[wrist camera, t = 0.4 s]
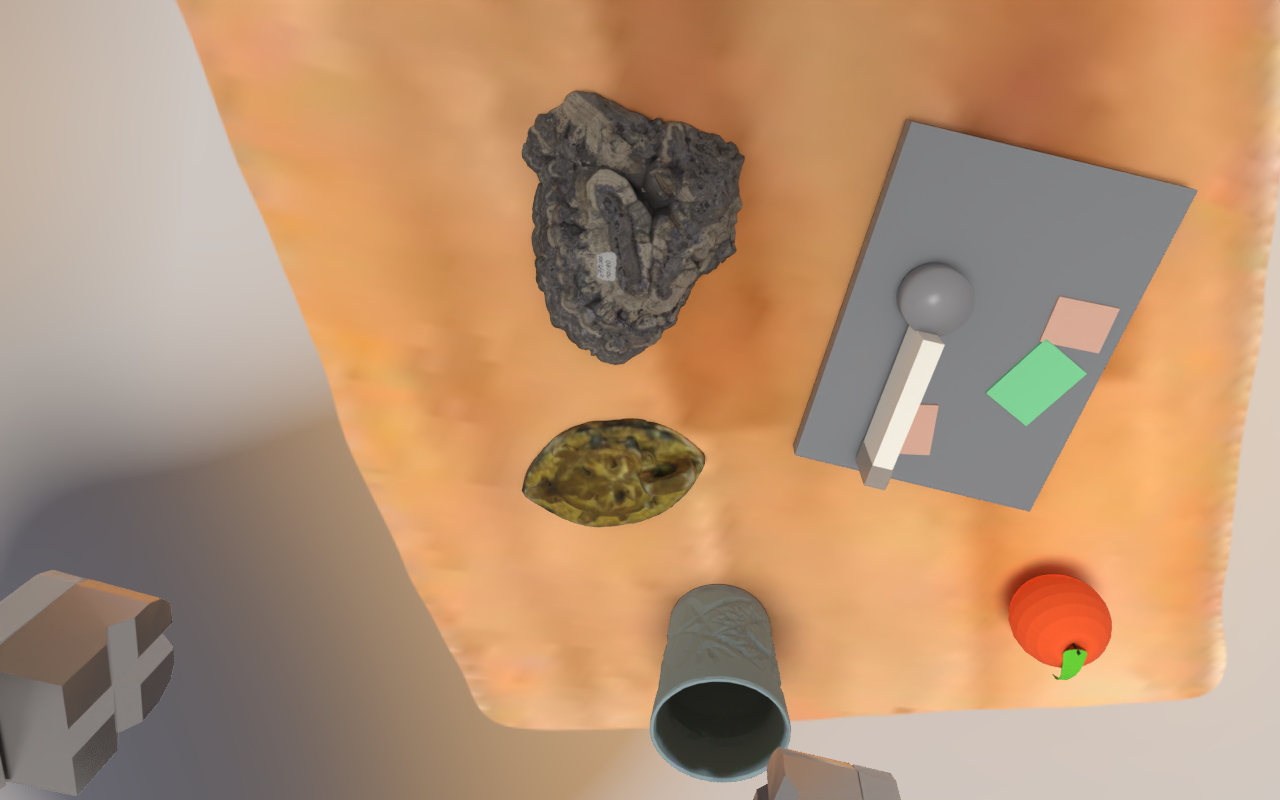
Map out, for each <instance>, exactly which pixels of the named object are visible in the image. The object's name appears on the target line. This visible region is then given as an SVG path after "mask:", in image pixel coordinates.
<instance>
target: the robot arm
mask: <svg viewBox="0 0 1280 800" xmlns="http://www.w3.org/2000/svg"><path fill="white" fill-rule="evenodd" d="M171 623H172V614H171V605H170V603H169V602H167V601H165V600H163V599H161V598H157V597H154V596H150V595H146V594H143V593H139V592H135V591H131V590H128V589H124V588H120V587H117V586H112V585H109V584H105V583H102V582H98V581H94V580H91V579H89V580H88V579H84V578H81V577H76V576H73V575H70V574H66V573H62V572H58V571H55V570H51V571H48V572H44V573H41V574H37V575H36V576H34V577H33V578H32V579H30V580H29V581H28V582H26V583H25V584H24V585H22V586H21V587H20V588H18V589H17V590H16V591H14V592H13V593H12V594H10V595H9V596H8V597H6V598H5V599H3V600H2V601H1V602H0V789H1V788H2V787H4V786H5V785H6V782H5V781H7V782H12V783H16V784H21V785H26V786H31V787H36V788H41V789H45V790H51V791H55V792H60V793H64V794H69V795H74V796H78V795H79V793H80V792H81V791H82V790H83V789H84V788H85V787H86V785H87V784H88V783H89V782H90V781H91V780H92V779H93V778H94V776H95V775H96V774H97V773H98V772H99V771H100V770H101V769H102V767H103V766H104V765H105V764H106V763H107V762H108V761H109V759H110V758H111V757H112V756H113V755H114V754H115V753H116V752H117V750H118V733H119V732H121V731H123V730H125V729H127V728H129V727H131V726H134V725H136V724H138V723H140V722H142V721H144V719H145V718H146V717H147V716H148V715H149V713H150V712H151V711H152V710H153V709H154V707H155V706H156V705H157V704H158V703H159V701H160V699H161V697H162V695H163V693H164V691H165V689H166V687H167V686H168V684H169V682H170V679H171V675H172V670H173V666H174V648H173V647H172V645H171V644H170V643H169V641H168V640H167V639H166V637H165V636H164V635H163V632H164V631H165V629H167V627H169V625H170V624H171ZM767 780H768V784H766V785H764V786H762V787H761V788H759V789H757V791H756V794H755V796H754V799H753V800H901V799H900V795H899V791H898V787H897V783H896V780H895V779H894V778H893V776H892V775H891V773H887V772H883V771H879V770H875V769H870V768H866V767H862V766H857V765H850V764H849V763H846V762H841V761H837V760H832V759H828V758H823V757H819V756H815V755H811V754H806V753H802V752H798V751H793V750H789V749H785V748H780V747H778V748H777V749H776V750H775V751H774V752H773V753H772V755H771V758H770V760H769V762H768V764H767Z"/></svg>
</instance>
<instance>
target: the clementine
mask: <svg viewBox="0 0 1280 800" xmlns="http://www.w3.org/2000/svg"><path fill="white" fill-rule="evenodd" d="M1009 623H1010V626H1011V629H1012V632H1013V635H1014V637H1015V639H1016V640H1017V641H1018V643H1019V644H1020V645H1021V647H1022V648H1023V649H1024V650H1025V652H1027V653H1028V654H1030V655H1031V656H1033V657H1034V658H1035V659H1037V660H1038V661H1040V662H1042V663H1044V664H1047V665H1050V666H1054V667H1060V668H1062V671H1061V675H1060V677H1059V678H1058V677H1056V676H1055V675H1053V674H1052V675H1053V676H1054V677H1055V679H1058V680H1068V679H1070V678H1072V677H1073V676H1075V675H1076V674H1077V673H1078V672H1079V671H1080V669H1081V668H1082V666H1084V665H1087V664H1089V663H1091V662H1093V661H1094V660H1096V659H1097V658H1098V657H1100V655H1101V654H1102V653H1103V652H1104V651H1105V649H1106V647H1107V645H1108V643H1109V641H1110V638H1111V631H1112V620H1111V617H1110V613H1109V611H1108V608H1107V606H1106V604H1105V602H1104V601H1103V600H1102V598H1101V597H1100V596H1099V594H1098V593H1097V592H1096V591H1095V590H1094V589H1093V588H1091V587H1090V586H1088V585H1087V584H1086V583H1084V582H1082V581H1080V580H1078V579H1076V578H1073V577H1070V576H1067V575H1060V574H1047V575H1041V576H1037V577H1034V578H1032V579H1030V580H1028V581H1027V582H1025V583H1024V584H1023V585H1022V586H1021V587H1020V588H1019V589H1018V590H1017V591H1016V593H1015V594H1014V595H1013V597H1012V600H1011V603H1010V607H1009Z"/></svg>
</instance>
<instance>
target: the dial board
mask: <svg viewBox="0 0 1280 800" xmlns="http://www.w3.org/2000/svg"><path fill="white" fill-rule="evenodd" d="M1197 191H1198V190H1195V189H1191V188H1188V187H1185V186H1180V185H1176V184H1172V183H1168V182H1164V181H1160V180H1155V179H1151V178H1147V177H1143V176H1139V175H1135V174H1130V173H1126V172H1122V171H1118V170H1114V169H1110V168H1106V167H1101V166H1097V165H1093V164H1089V163H1085V162H1081V161H1076V160H1072V159H1068V158H1064V157H1060V156H1056V155H1051V154H1047V153H1043V152H1039V151H1035V150H1031V149H1026V148H1022V147H1018V146H1014V145H1010V144H1006V143H1002V142H997V141H993V140H989V139H985V138H981V137H977V136H972V135H968V134H964V133H960V132H956V131H952V130H947V129H943V128H939V127H935V126H931V125H927V124H922V123H918V122H914V121H910V120H906V122H905V125H904V128H903V131H902V134H901V137H900V140H899V143H898V145H897V148H896V151H895V154H894V157H893V160H892V163H891V166H890V169H889V171H888V174H887V177H886V180H885V183H884V186H883V189H882V192H881V194H880V197H879V200H878V203H877V206H876V209H875V212H874V215H873V217H872V220H871V223H870V226H869V229H868V232H867V235H866V238H865V240H864V243H863V246H862V249H861V252H860V255H859V258H858V261H857V264H856V266H855V269H854V272H853V275H852V278H851V281H850V284H849V287H848V289H847V292H846V295H845V298H844V301H843V304H842V307H841V310H840V312H839V315H838V318H837V321H836V324H835V327H834V330H833V333H832V336H831V338H830V341H829V344H828V347H827V350H826V353H825V356H824V359H823V361H822V364H821V367H820V370H819V373H818V376H817V379H816V382H815V384H814V387H813V390H812V393H811V396H810V399H809V402H808V405H807V408H806V410H805V413H804V416H803V419H802V422H801V425H800V428H799V431H798V433H797V436H796V439H795V442H794V445H793V448H794V453H795V455H796V456H800V457H804V458H809V459H813V460H817V461H821V462H825V463H829V464H834V465H838V466H842V467H846V468H850V469H854V470H859V468H858V465H857V462H856V457H857V454H858V452H859V449H860V447H861V444H862V442H863V441H864V439H865V436H866V434H867V431H868V429H869V426H870V424H871V421H872V419H873V416H874V414H875V411H876V408H877V406H878V403H879V401H880V398H881V396H882V393H883V391H884V388H885V385H886V383H887V380H888V378H889V375H890V373H891V370H892V368H893V365H894V362H895V360H896V357H897V355H898V352H899V350H900V347H901V345H902V342H903V340H904V337H905V334H906V332H907V329H908V327H909V324H908V323H907V321H906V320H905V318H904V317H903V316H902V314H901V312H900V311H899V308H898V305H897V292H898V289H899V286H900V284H901V282H902V280H903V279H904V278H905V276H906V275H907V274H908V273H909V272H911V271H912V270H913V269H915V268H917V267H919V266H921V265H924V264H928V263H943V264H947V265H949V266H951V267H953V268H954V269H956V270H957V271H958V272H959V273H960V274H961V275H962V276H963V277H964V278H966V279H967V280H968V282H969V283H970V284H971V286H972V288H973V291H974V295H975V304H974V308H973V311H972V313H971V315H970V317H969V319H968V320H967V321H966V322H965V324H964V325H963V326H961V327H960V328H959V329H957V330H956V331H954V332H952V333H950V334H947V335H944V336H939V338H940V339H941V340H942V342H943V343H944V344H945V346H944V348H943V351H942V353H941V355H940V358H939V360H938V363H937V365H936V367H935V370H934V372H933V375H932V377H931V379H930V382H929V384H928V387H927V389H926V391H925V394H924V396H923V398H922V401H921V403H920V406H919V408H918V410H917V413H916V415H915V418H914V420H913V422H912V425H911V427H910V430H909V432H908V434H907V437H906V439H905V441H904V444H903V446H902V449H901V451H900V453H899V456H898V458H897V461H896V463H895V465H894V468H893V473H892V475H891V478H892V479H896V480H900V481H904V482H909V483H913V484H917V485H921V486H925V487H929V488H934V489H938V490H942V491H946V492H950V493H954V494H959V495H963V496H967V497H971V498H975V499H979V500H984V501H988V502H992V503H996V504H1000V505H1005V506H1009V507H1013V508H1017V509H1021V510H1025V511H1030V510H1031V508H1032V506H1033V504H1034V502H1035V500H1036V499H1037V497H1038V495H1039V493H1040V491H1041V489H1042V487H1043V485H1044V483H1045V481H1046V479H1047V478H1048V476H1049V474H1050V472H1051V470H1052V468H1053V466H1054V464H1055V462H1056V460H1057V458H1058V457H1059V455H1060V453H1061V451H1062V449H1063V447H1064V445H1065V443H1066V441H1067V439H1068V437H1069V436H1070V434H1071V432H1072V430H1073V428H1074V426H1075V424H1076V422H1077V420H1078V418H1079V416H1080V415H1081V413H1082V411H1083V409H1084V407H1085V405H1086V403H1087V401H1088V399H1089V397H1090V395H1091V394H1092V392H1093V390H1094V388H1095V386H1096V384H1097V382H1098V380H1099V378H1100V376H1101V374H1102V373H1103V371H1104V369H1105V367H1106V365H1107V363H1108V361H1109V359H1110V357H1111V355H1112V353H1113V352H1114V350H1115V348H1116V346H1117V344H1118V342H1119V340H1120V338H1121V336H1122V334H1123V332H1124V331H1125V329H1126V327H1127V325H1128V323H1129V321H1130V319H1131V317H1132V315H1133V313H1134V311H1135V310H1136V308H1137V306H1138V304H1139V302H1140V300H1141V298H1142V296H1143V294H1144V292H1145V290H1146V288H1147V287H1148V285H1149V283H1150V281H1151V279H1152V277H1153V275H1154V273H1155V271H1156V269H1157V267H1158V266H1159V264H1160V262H1161V260H1162V258H1163V256H1164V254H1165V252H1166V250H1167V248H1168V246H1169V245H1170V243H1171V241H1172V239H1173V237H1174V235H1175V233H1176V231H1177V229H1178V227H1179V225H1180V224H1181V222H1182V220H1183V218H1184V216H1185V214H1186V212H1187V210H1188V208H1189V206H1190V204H1191V203H1192V201H1193V199H1194V197H1195V195H1196V193H1197Z"/></svg>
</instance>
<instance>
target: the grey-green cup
mask: <svg viewBox="0 0 1280 800" xmlns="http://www.w3.org/2000/svg"><path fill="white" fill-rule="evenodd" d="M667 640H668V644H667V646H666V649H665V652H664V655H663V656H664V659H663V662H662V666H661V674H660V680H659V688H658V691H657V695H656V698H655V702H654V707H653V711H652V716H651V721H650V734H651V739H652V742H653V744H654V746H655V748H656V750H657V751H658V752H659V754H660V755H661V756H662V757H663V759H664V760H666V762H667V763H669V764H670V765H671V766H673V767H674V768H676V769H677V770H678V771H680V772H682V773H685V774H687V775H689V776H691V777H694V778H698V779H701V780H706V781H711V782H736V781H741V780H745V779H749V778H752V777H755V776H757V775H759V774H761V773H763V772H764V771H766V770H767V764H768V762H769V760H770V758H771V755H772V753H773V752H774V751H775V750H776V749H777V748H778V747H780V748H785V749H787V747H788V744H789V741H790V733H791V726H790V720H789V716H788V712H787V707H786V703H785V699H784V695H783V692H782V690H781V688H780V686H781V681H780V675H779V669H778V667H777V666H778V664H777V660H776V659H775V655H776V654H775V649H774V645H773V642H772V634H771V628H770V622H769V619H768V616H767V613H766V611H765V609H764V608H763V606H762V605H761V603H760V602H759V601H758V600H757V599H756V598H755V597H754V596H752V595H751V594H750V593H748V592H746V591H745V590H742V589H740V588H737V587H734V586H730V585H723V584H712V585H706V586H702V587H699V588H696V589H694V590H692V591H690V592H688V593H687V594H685V595H684V596H683V597H682V598H680V600H679V601H678V603H677V604H676V606H675V607H674V609H673V612H672V614H671V618H670V623H669V629H668V634H667Z"/></svg>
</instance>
